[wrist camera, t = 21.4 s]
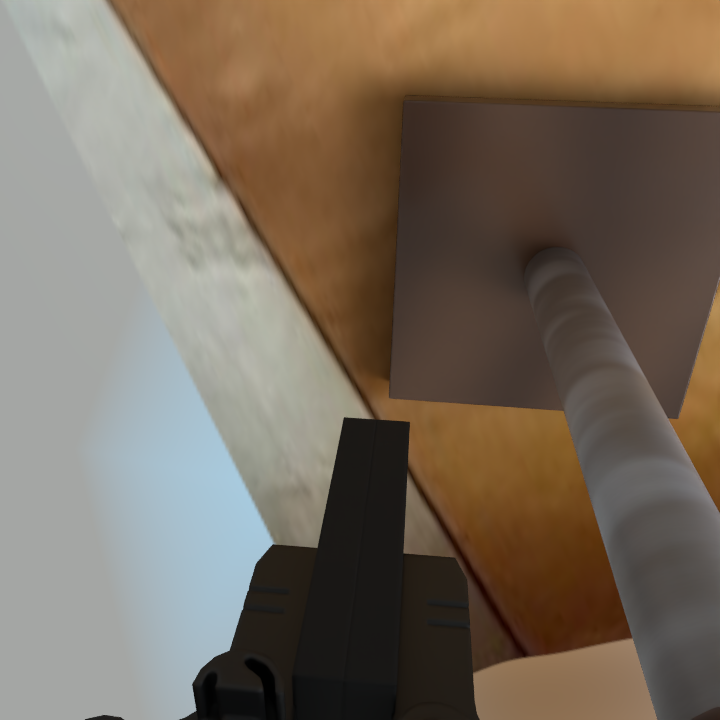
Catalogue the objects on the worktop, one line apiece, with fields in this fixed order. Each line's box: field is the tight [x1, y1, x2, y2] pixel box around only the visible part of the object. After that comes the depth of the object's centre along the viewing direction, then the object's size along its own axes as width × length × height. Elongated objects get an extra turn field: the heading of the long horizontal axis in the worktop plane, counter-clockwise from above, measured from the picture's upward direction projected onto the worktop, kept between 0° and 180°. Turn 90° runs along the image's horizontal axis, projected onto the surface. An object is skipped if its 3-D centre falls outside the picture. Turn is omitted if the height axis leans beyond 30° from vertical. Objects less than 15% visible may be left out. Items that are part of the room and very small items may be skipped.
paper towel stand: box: [389, 95, 720, 720], centre depth 19 cm, size 25×13×13 cm
